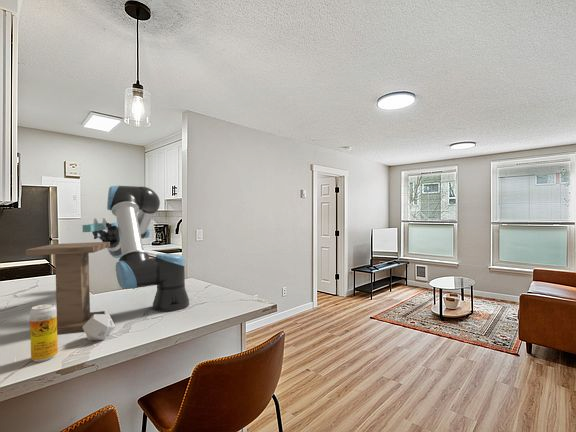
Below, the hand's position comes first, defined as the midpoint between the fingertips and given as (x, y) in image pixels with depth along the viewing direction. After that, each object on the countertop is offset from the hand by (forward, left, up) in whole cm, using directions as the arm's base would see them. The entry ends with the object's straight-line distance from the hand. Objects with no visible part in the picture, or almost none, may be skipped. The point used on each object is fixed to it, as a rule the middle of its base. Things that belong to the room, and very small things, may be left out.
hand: (99, 221), depth 146 cm
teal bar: (-2, +3, -4) cm, 5 cm away
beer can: (-32, +50, -39) cm, 71 cm away
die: (-36, +35, -39) cm, 63 cm away
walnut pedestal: (-16, +27, -38) cm, 50 cm away
